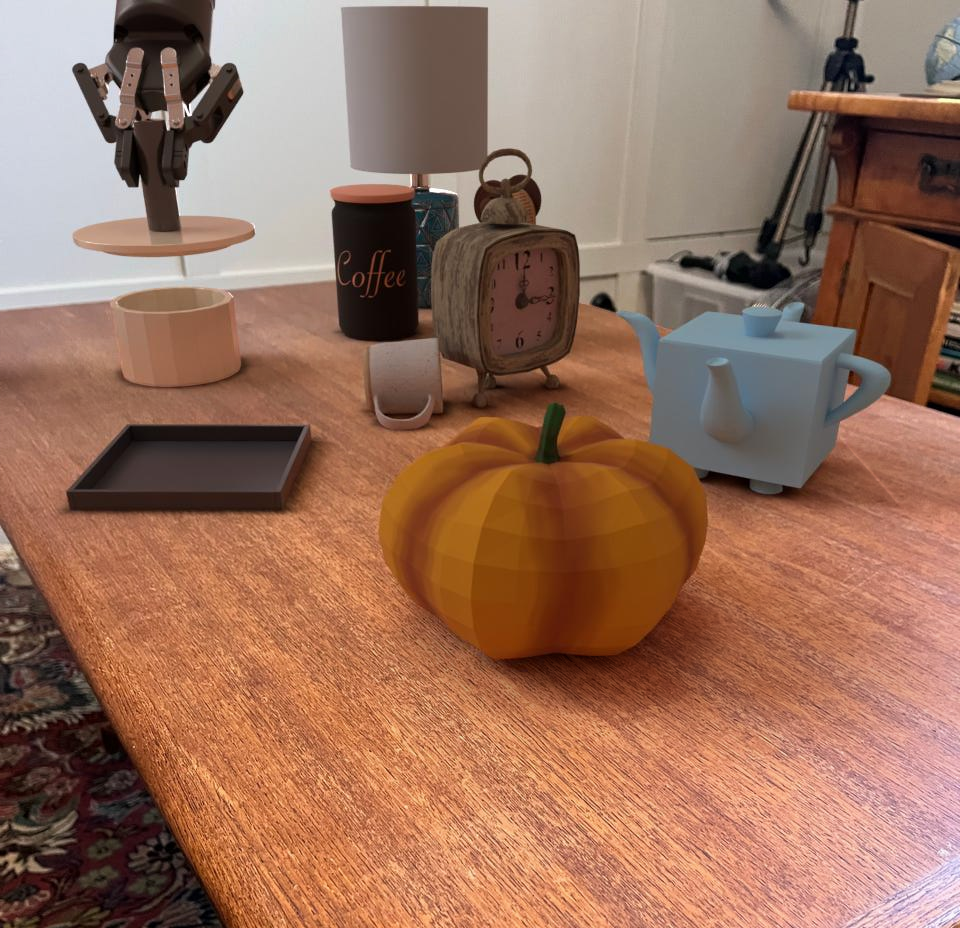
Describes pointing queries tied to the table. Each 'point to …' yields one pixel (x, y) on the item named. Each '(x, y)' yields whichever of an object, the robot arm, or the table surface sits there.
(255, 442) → the tray
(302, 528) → the table surface
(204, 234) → the lid
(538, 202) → the dark rounded piece
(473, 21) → the lamp
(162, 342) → the canister
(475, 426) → the decorative pumpkin
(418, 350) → the ceramic mug
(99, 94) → the robot arm
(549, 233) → the tabletop clock
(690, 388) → the teakettle
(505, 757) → the table surface
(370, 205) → the coffee jar
